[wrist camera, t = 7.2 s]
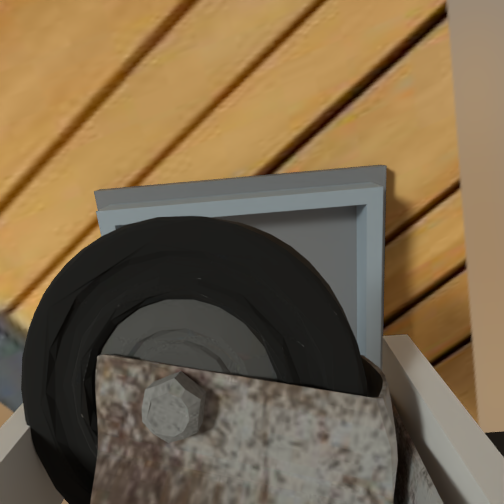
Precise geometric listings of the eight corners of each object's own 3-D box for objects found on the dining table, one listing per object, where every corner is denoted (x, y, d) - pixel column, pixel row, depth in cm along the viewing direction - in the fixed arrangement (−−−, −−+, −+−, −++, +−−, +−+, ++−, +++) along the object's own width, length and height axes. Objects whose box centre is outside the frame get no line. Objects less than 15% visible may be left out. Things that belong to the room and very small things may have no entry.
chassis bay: (99, 189, 26) (77, 197, 23) (381, 164, 26) (400, 168, 22) (147, 418, 32) (134, 450, 29) (377, 403, 31) (392, 435, 28)
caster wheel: (124, 209, 13) (418, 240, 12) (100, 508, 14) (373, 572, 12) (-61, 186, 7) (561, 251, 5) (-89, 759, 7) (445, 954, 6)
